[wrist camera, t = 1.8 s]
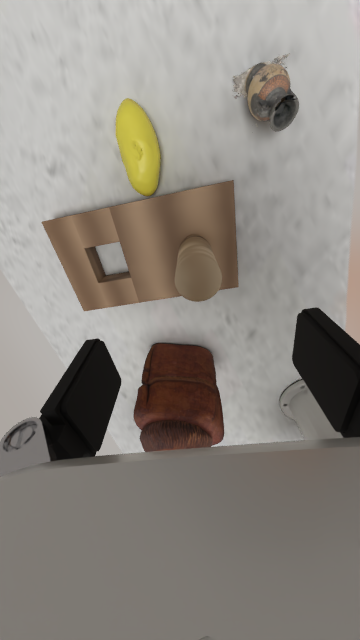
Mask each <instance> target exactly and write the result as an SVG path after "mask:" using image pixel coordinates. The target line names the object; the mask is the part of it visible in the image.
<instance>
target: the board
mask: <svg viewBox="0 0 360 640" xmlns="http://www.w3.org/2000/svg"><path fill="white" fill-rule="evenodd" d="M42 224H43V226H44V228H45V230H46V232H47V235H48V237H49V239H50V241H51V243H52V245H53V247H54V249H55V251H56V253H57V256H58V258H59V260H60V262H61V264H62V266H63V268H64V270H65V272H66V274H67V277H68V279H69V281H70V283H71V285H72V287H73V289H74V291H75V293H76V295H77V298H78V300H79V302H80V304H81V306H82V308H83V310H84V311H89V310H95V309H102V308H108V307H114V306H121V305H127V304H133V303H140V302H146V301H153V300H159V299H165V298H172V297H178V296H182V295H181V294H180V293H179V292H178V290H177V288H176V286H175V272H176V266H177V259H178V252H179V247H180V245H181V243H182V242H183V241H184V240H185V239H186V238H187V237H188V236H190V235H199V236H201V237H203V238H204V239H206V240H207V241H208V243H209V244H210V247H211V249H212V251H213V254H214V256H215V259H216V261H217V263H218V266H219V268H220V270H221V274H222V283H221V286H220V288H219V290H222V289H229V288H235V287H238V267H237V246H236V224H235V203H234V182H233V180H232V181H227V182H223V183H218V184H213V185H209V186H204V187H200V188H195V189H190V190H186V191H181V192H177V193H172V194H167V195H163V196H158V197H154V198H149V199H144V200H140V201H135V202H131V203H126V204H121V205H117V206H112V207H108V208H103V209H98V210H94V211H89V212H85V213H80V214H76V215H71V216H66V217H62V218H57V219H53V220H48V221H43V222H42ZM115 242H120V244H121V247H122V250H123V253H124V257H125V260H126V263H127V266H128V269H129V272H124V273H118V274H113V275H107V276H106V275H105V272H104V270H103V267H102V265H101V262H100V259H99V257H98V254H97V251H96V249H95V246H99V245H104V244H109V243H115Z"/></svg>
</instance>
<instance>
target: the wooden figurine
mask: <svg viewBox="0 0 360 640" xmlns="http://www.w3.org/2000/svg"><path fill="white" fill-rule="evenodd" d="M142 384H143V385H142V386H141V387H140V388H139V389H138V396H137V401H136V405H135V409H134V420H135V422H136V424H137V426H138V427H139V428H140V429H141V430H142V432H141V435H140V441H141V443H142V446H143V449H144V451H145V452H154V451H166V450H179V449H192V448H205V447H211V446H212V445H215V444H218V443H220V442H221V441H222V440H223V437H224V423H223V412H222V405H221V399H220V394H219V390H218V387H217V385H216V372H215V367H214V360H213V356H212V354H211V352H210V351H209V350H207V349H205V348H202V347H199V346H191V345H176V344H164V343H157V344H155V345H153V346H152V347H151V349H150V351H149V353H148V355H147V358H146V361H145V365H144V370H143V374H142Z"/></svg>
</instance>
